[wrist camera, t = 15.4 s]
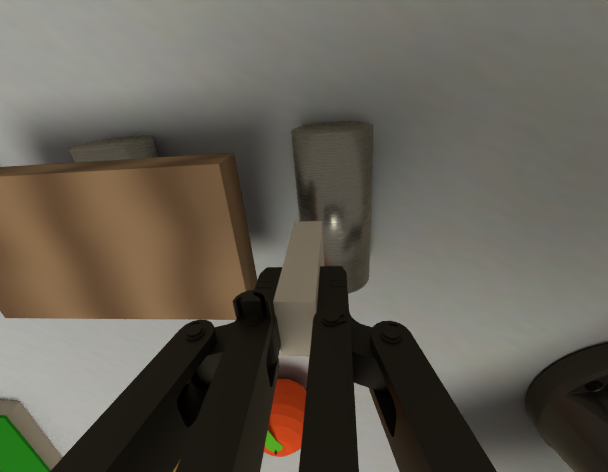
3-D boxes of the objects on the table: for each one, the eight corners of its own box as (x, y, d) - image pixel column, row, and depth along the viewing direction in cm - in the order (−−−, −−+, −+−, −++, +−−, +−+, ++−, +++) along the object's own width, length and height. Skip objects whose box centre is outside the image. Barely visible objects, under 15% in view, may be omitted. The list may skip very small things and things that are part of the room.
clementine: (240, 366, 34) (218, 433, 27) (294, 351, 32) (284, 419, 25) (275, 408, 37) (262, 477, 30) (326, 396, 35) (324, 467, 28)
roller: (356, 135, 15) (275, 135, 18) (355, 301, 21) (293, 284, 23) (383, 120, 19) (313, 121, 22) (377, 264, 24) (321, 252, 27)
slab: (233, 152, 17) (218, 163, 14) (260, 295, 21) (251, 319, 19) (-45, 169, 19) (-93, 181, 17) (35, 296, 23) (5, 317, 21)
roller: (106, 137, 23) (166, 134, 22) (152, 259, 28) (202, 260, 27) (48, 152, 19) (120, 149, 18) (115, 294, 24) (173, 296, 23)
